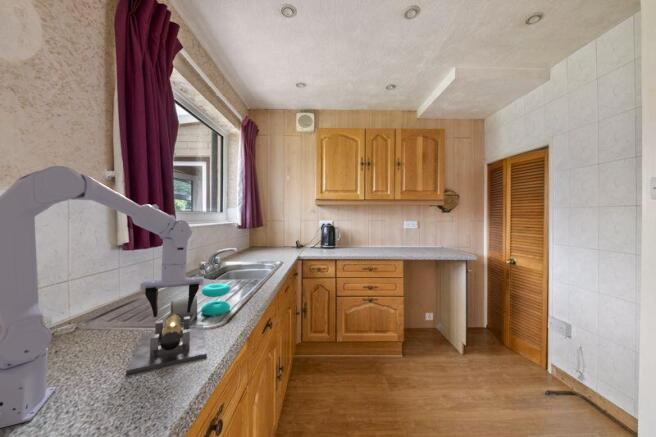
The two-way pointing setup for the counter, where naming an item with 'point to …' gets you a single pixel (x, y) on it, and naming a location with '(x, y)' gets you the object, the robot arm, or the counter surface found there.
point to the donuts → (215, 306)
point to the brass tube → (171, 332)
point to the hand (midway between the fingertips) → (172, 313)
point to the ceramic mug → (184, 308)
